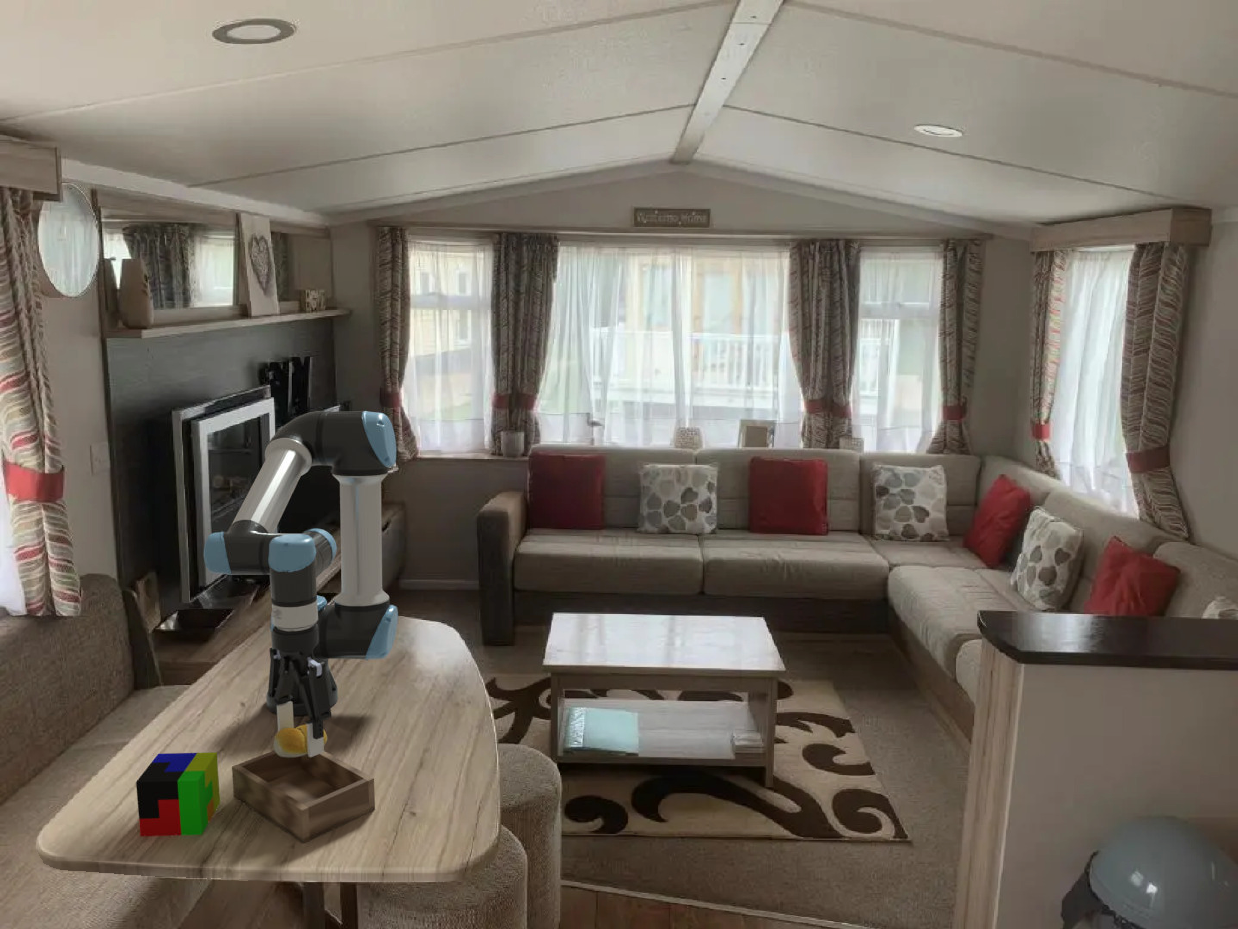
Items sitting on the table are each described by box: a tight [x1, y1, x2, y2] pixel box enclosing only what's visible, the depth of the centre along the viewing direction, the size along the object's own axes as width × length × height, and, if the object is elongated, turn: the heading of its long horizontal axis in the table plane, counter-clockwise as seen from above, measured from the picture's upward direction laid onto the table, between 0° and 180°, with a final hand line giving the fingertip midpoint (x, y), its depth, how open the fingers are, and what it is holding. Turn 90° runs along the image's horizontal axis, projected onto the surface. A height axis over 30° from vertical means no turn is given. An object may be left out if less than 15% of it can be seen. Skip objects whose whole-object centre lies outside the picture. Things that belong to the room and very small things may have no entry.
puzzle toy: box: [135, 751, 221, 837], centre depth 171 cm, size 10×10×10 cm
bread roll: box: [272, 724, 328, 757], centre depth 176 cm, size 8×9×4 cm
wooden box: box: [231, 749, 376, 844], centre depth 177 cm, size 22×14×6 cm, turn 50°
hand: (300, 745), depth 176 cm, fingers closed on bread roll, 9 cm apart
